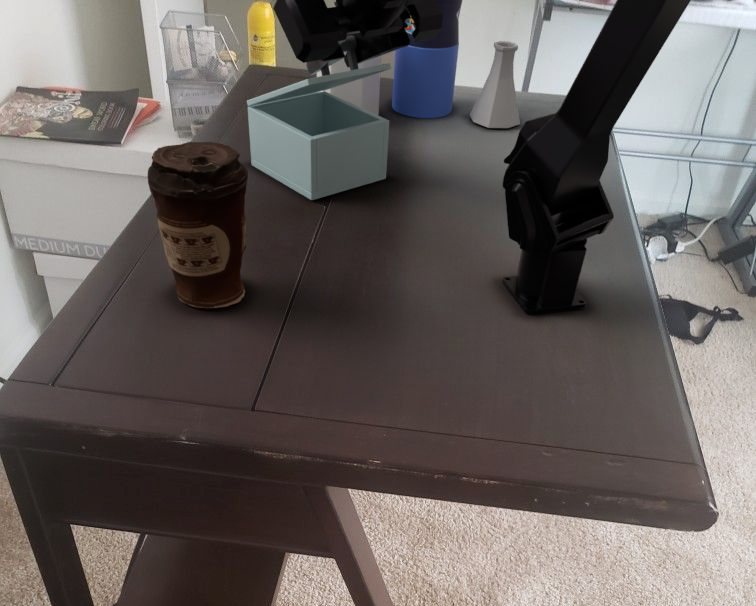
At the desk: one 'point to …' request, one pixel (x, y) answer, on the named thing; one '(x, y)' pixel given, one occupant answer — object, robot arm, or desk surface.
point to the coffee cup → (201, 219)
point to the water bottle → (428, 68)
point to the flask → (498, 91)
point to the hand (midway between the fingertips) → (328, 66)
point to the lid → (324, 78)
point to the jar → (358, 85)
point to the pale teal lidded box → (318, 143)
